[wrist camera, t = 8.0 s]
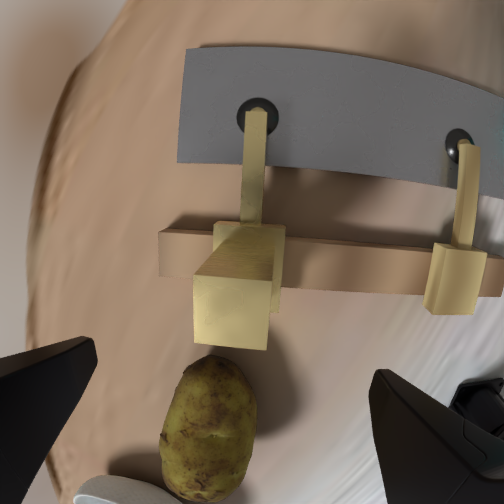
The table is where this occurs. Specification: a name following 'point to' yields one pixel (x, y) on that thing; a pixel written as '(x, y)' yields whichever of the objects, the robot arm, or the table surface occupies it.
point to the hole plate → (338, 115)
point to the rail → (375, 258)
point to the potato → (208, 431)
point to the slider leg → (242, 260)
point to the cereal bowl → (121, 492)
